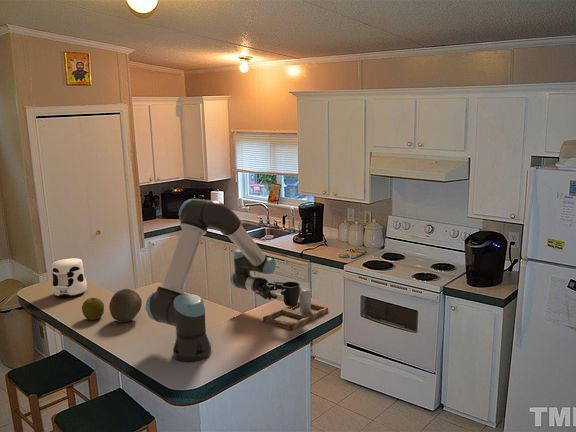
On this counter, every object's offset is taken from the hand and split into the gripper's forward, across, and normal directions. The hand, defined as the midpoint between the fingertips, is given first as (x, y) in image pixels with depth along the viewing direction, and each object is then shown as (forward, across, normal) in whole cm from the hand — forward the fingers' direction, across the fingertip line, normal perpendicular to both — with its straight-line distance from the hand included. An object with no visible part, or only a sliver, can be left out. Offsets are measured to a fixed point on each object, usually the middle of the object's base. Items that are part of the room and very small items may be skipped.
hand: (292, 294), depth 236 cm
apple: (-79, +53, -14) cm, 96 cm away
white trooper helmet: (-122, +42, -14) cm, 130 cm away
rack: (-4, -7, -14) cm, 16 cm away
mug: (-2, 0, -6) cm, 7 cm away
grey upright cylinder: (-4, -14, -14) cm, 20 cm away
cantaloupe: (-64, +45, -14) cm, 79 cm away
